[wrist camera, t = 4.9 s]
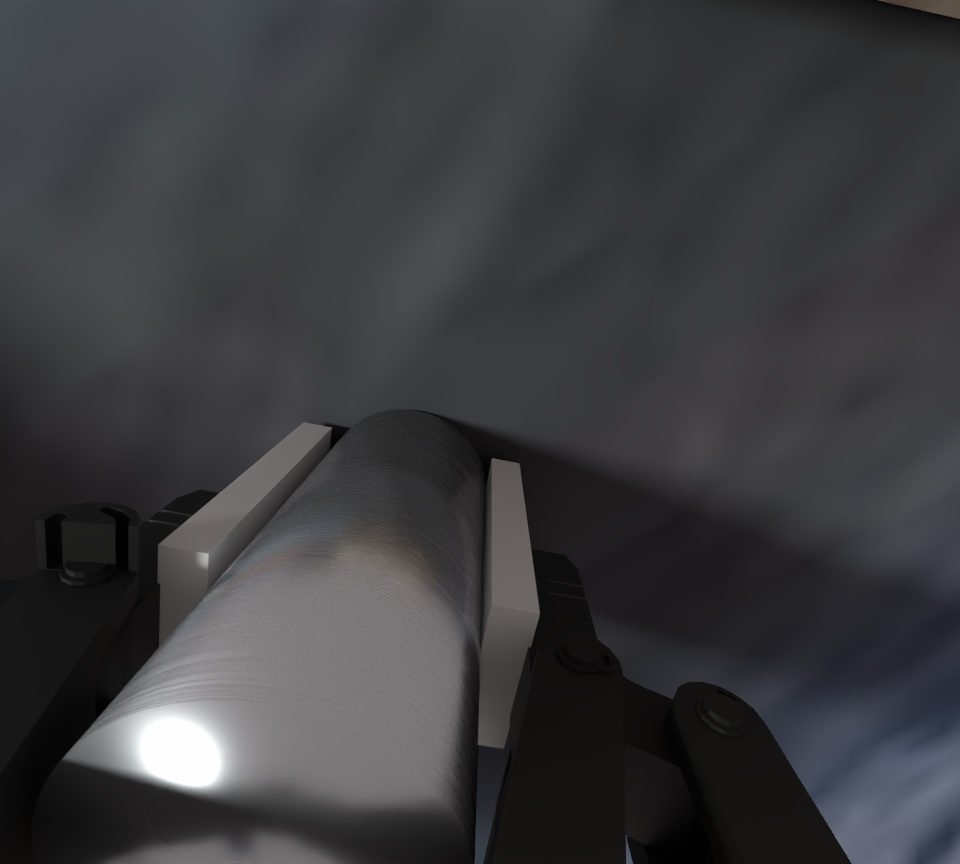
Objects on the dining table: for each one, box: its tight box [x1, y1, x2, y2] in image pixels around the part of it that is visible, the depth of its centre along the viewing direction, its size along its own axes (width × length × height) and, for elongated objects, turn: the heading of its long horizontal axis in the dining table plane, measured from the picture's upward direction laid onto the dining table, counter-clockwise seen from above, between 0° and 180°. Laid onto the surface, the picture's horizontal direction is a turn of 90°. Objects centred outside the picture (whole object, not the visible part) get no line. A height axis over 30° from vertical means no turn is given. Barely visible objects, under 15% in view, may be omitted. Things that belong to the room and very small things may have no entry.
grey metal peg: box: [32, 410, 485, 864], centre depth 10 cm, size 4×4×10 cm
